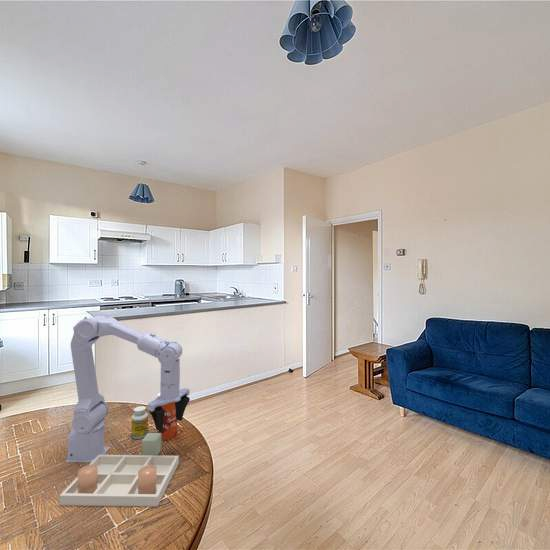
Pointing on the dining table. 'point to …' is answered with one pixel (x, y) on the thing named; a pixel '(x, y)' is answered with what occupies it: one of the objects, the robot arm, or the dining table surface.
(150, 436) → the pale green block
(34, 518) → the dining table surface
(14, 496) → the dining table surface
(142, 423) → the supplement bottle
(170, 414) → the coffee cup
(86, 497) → the white compartment tray
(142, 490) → the tan rounded capsule part
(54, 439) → the dining table surface
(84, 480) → the tan rounded cylinder
